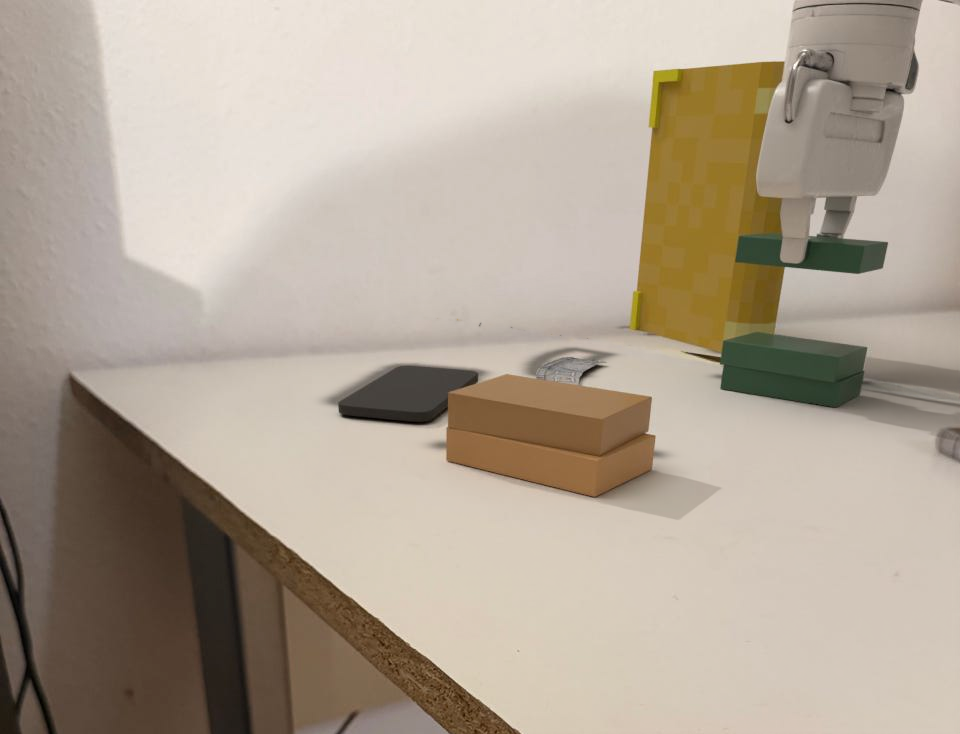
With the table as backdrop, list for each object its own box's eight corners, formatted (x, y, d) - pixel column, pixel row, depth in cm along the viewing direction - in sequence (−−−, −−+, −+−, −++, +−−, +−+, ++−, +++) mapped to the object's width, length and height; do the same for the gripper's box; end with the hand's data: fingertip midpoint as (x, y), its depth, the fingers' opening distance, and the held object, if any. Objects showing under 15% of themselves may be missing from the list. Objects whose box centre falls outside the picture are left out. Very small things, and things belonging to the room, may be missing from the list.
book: (628, 337, 103) (653, 70, 92) (678, 334, 106) (708, 75, 95) (732, 367, 90) (776, 59, 79) (785, 362, 93) (836, 64, 82)
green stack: (860, 394, 81) (870, 346, 79) (834, 408, 76) (844, 357, 74) (745, 376, 87) (752, 331, 85) (713, 389, 82) (720, 341, 80)
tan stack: (655, 467, 61) (663, 398, 59) (594, 497, 55) (600, 422, 53) (510, 436, 66) (512, 372, 64) (441, 460, 61) (441, 390, 59)
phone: (332, 404, 70) (399, 364, 82) (332, 415, 70) (399, 374, 83) (428, 413, 68) (482, 371, 81) (428, 425, 68) (482, 381, 81)
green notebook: (882, 268, 77) (888, 241, 76) (858, 274, 72) (864, 245, 71) (764, 257, 82) (768, 232, 81) (734, 262, 77) (738, 235, 76)
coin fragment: (574, 389, 80) (575, 384, 80) (520, 382, 81) (520, 377, 81) (609, 363, 90) (609, 358, 90) (560, 357, 92) (561, 352, 92)
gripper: (844, 43, 61) (804, 272, 68) (925, 70, 76) (885, 255, 82) (751, 46, 64) (721, 264, 71) (846, 71, 79) (814, 249, 86)
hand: (810, 259), depth 77 cm, fingers closed on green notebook, 6 cm apart
